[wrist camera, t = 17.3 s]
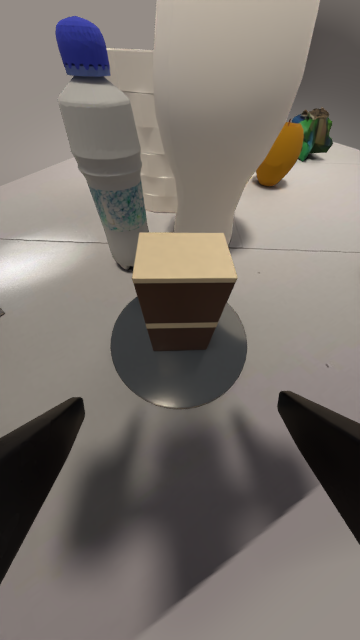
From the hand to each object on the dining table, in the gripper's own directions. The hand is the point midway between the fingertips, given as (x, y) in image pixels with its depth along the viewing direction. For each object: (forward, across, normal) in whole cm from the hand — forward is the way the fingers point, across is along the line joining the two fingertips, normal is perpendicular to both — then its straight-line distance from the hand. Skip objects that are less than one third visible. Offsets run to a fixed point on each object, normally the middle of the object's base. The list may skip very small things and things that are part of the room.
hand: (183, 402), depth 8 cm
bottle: (+24, +7, -9) cm, 26 cm away
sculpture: (+65, -47, -50) cm, 94 cm away
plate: (+13, 0, +2) cm, 13 cm away
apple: (+47, -26, -32) cm, 62 cm away
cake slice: (+12, 0, +1) cm, 13 cm away
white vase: (+29, -5, -14) cm, 33 cm away
